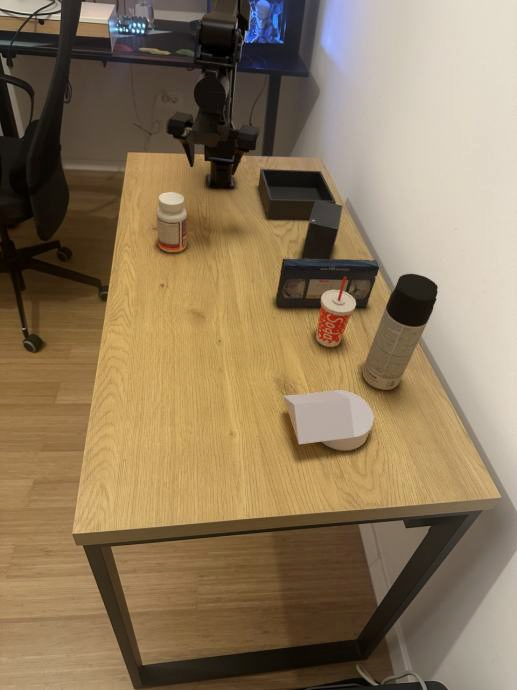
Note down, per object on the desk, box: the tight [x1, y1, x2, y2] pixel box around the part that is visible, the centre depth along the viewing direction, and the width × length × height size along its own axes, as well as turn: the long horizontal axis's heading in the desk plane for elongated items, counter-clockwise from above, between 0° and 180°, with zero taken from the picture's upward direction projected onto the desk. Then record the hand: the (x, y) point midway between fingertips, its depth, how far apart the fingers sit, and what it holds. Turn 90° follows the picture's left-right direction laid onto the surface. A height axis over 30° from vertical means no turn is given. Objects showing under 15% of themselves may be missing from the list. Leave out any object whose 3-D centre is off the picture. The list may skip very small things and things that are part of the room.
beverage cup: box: [315, 276, 356, 348], centre depth 88 cm, size 6×6×14 cm
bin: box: [257, 168, 337, 221], centre depth 127 cm, size 16×16×5 cm
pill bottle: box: [156, 191, 188, 253], centre depth 105 cm, size 6×6×11 cm
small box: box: [300, 200, 344, 260], centre depth 109 cm, size 11×6×10 cm, turn 167°
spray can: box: [361, 273, 439, 391], centre depth 80 cm, size 7×7×20 cm
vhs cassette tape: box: [275, 258, 380, 308], centre depth 96 cm, size 18×3×10 cm, turn 95°
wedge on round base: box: [282, 389, 375, 452], centre depth 76 cm, size 9×7×13 cm
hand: (212, 170), depth 108 cm, fingers open, 9 cm apart
